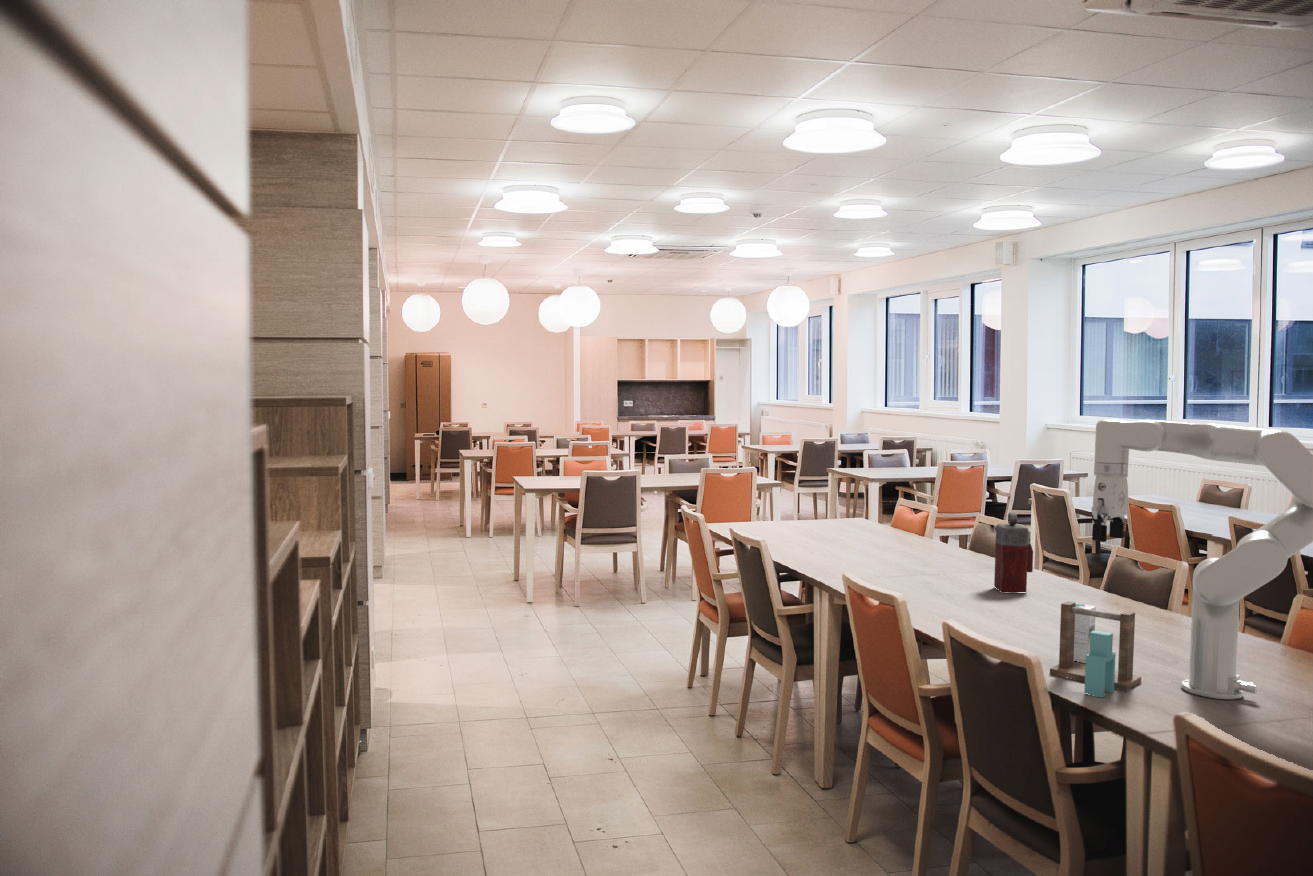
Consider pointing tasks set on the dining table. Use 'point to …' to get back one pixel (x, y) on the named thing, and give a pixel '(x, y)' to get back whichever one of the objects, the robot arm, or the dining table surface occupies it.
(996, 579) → the dark red lidded canister
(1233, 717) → the dining table surface
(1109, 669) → the teal block figure
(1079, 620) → the syrup box
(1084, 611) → the hanger rack
